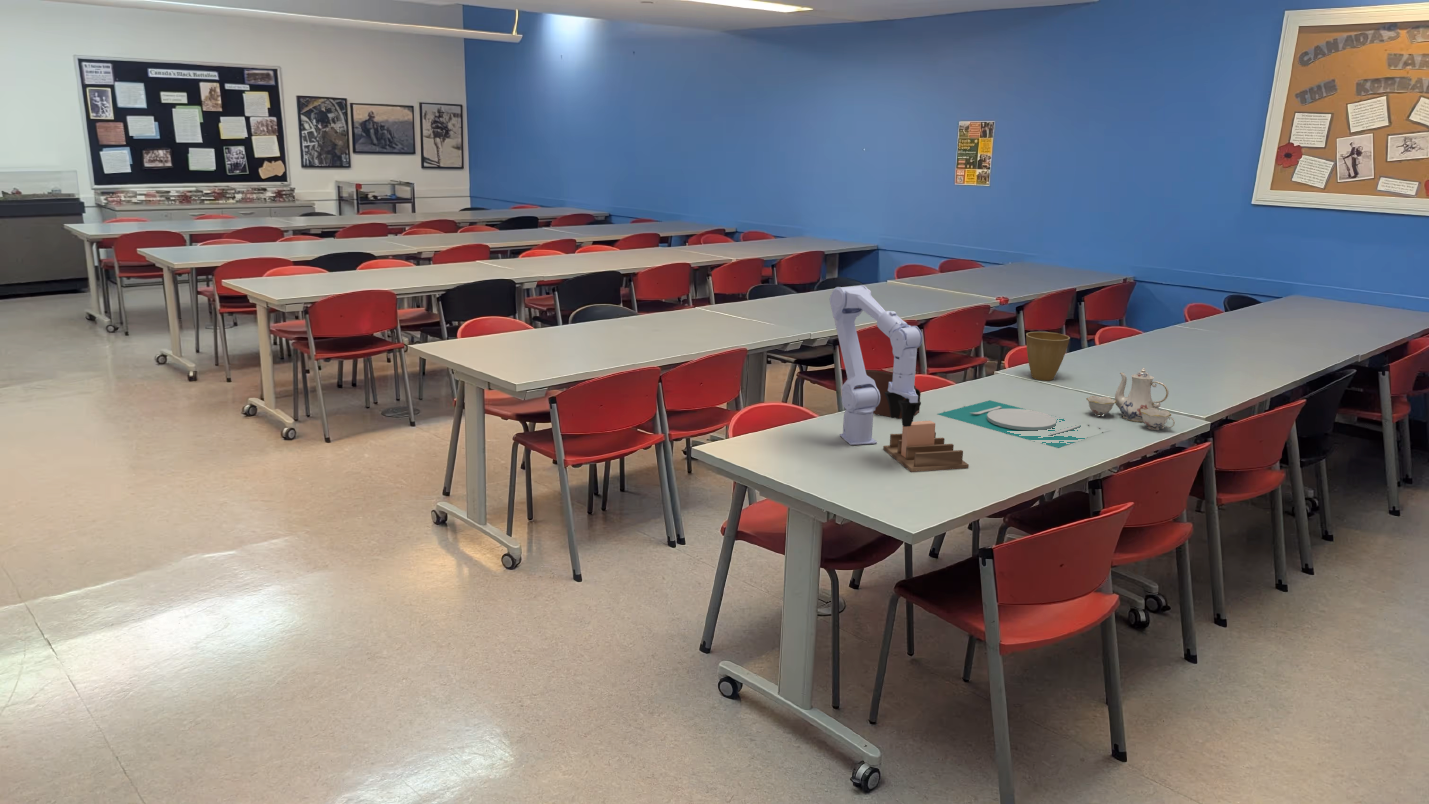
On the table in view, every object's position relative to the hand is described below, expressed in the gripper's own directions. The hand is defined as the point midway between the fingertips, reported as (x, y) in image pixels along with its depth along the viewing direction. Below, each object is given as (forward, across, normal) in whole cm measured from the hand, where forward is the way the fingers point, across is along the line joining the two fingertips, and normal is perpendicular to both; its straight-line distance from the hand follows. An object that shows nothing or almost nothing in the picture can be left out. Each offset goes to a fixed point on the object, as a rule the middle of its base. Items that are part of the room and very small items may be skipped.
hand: (900, 421), depth 244 cm
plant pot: (+11, -73, +89) cm, 116 cm away
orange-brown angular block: (+9, +2, +4) cm, 10 cm away
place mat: (+11, -24, +51) cm, 57 cm away
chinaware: (+10, -20, +86) cm, 89 cm away
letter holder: (+11, -43, +14) cm, 47 cm away
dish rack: (+10, +2, +7) cm, 12 cm away
